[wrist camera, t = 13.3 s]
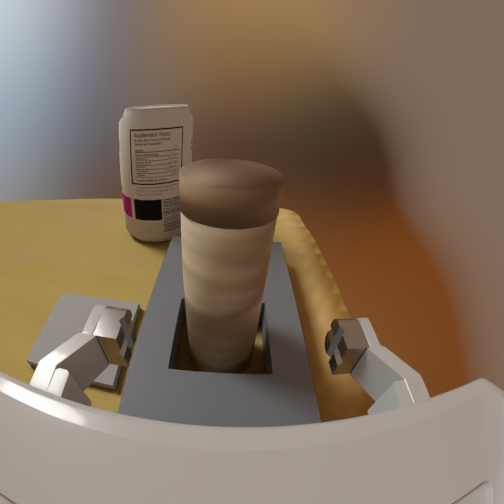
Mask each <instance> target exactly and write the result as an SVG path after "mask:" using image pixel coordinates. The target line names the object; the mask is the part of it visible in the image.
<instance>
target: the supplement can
mask: <svg viewBox="0 0 504 504" xmlns="http://www.w3.org/2000/svg"><path fill="white" fill-rule="evenodd" d="M192 134H193V117H192V115H191V113H190V111H189V109H188V105H177V104H174V105H173V104H172V105H149V106H138V107H131V108H126V109H125V112H124V114H123V116H122V118H121V120H120V122H119V151H120V169H121V183H122V194H123V204H124V213H125V221H126V228H127V230H128V232H129V233H130V234H132V235H133V236H134V237H136V238H137V239H139V240H142V241H146V242H163V241H169V240H172V237H173V236H180V235H181V211H180V207H179V171H180V169H181V168H182V167H183V166H185V165H187V164H189V163H191V160H192Z"/></svg>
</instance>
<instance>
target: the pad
mask: <svg viewBox="0 0 504 504" xmlns="http://www.w3.org/2000/svg"><path fill="white" fill-rule="evenodd" d="M97 304H98V305H104V306H111V307H118V308H124V309H129V310H131V313H132V318H131V321H133V322H134V323H135V322H136V319H137V316H138V313H139V310H140V305H139V303H135V302H126V301H118V300H110V299H102V298H95V297H88V296H81V295H74V294H68V293H63V294H62V296H61V297H60V299H59V301H58V302H57V304H56V306H55V307H54V309H53V311H52V312H51V314H50V316H49V318H48V320H47V321H46V323H45V325H44V327H43V329H42V330H41V332H40V334H39V336H38V338H37V340H36V342H35V344H34V346H33V348H32V350H31V352H30V354H29V356H28V358H27V362H28V363H29V364H30V365H32V366H34V367H37V366H38V364H39V361H40V360H41V359H43V358H44V357H45V356H47V355H48V354H49V353H51V352H52V351H54V350H55V349H56V348H58V347H59V346H60V345H62V344H63V343H65V342H66V341H67V340H69V339H70V338H72V337H73V336H74V335H76V334H77V333H82V331H83V328H84V326H85V324H86V322H87V320H88V318H89V316H90V314H91V312H92V310H93V308H94V306H95V305H97ZM121 367H122V366H120V365H113V364H109V366H108V367H107V368H106V369H105V370H104V371H103V372H102V373H101V374H100V375H99V376H98V377H97V378H96V379H95V380H94V381H93V382H92V383H91V384H93V385H97V386H101V387H105V388H110V389H114V390H115V389H116V385H117V382H118V378H119V374H120V371H121Z"/></svg>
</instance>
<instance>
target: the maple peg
mask: <svg viewBox="0 0 504 504" xmlns="http://www.w3.org/2000/svg"><path fill="white" fill-rule="evenodd" d="M283 183H284V177H283V175H282V174H281V173H280V172H278V171H277V170H275V169H273V168H271V167H269V166H266V165H263V164H259V163H255V162H250V161H244V160H236V159H235V160H234V159H208V160H201V161H196V162H192V163H189V164H187V165H185V166H183V167H182V168H181V169H180V171H179V207H180V211H181V244H182V265H183V282H184V296H185V308H186V320H187V330H188V339H189V348H190V357H191V362H192V364H193V366H194V367H195V369H196V370H197V371H198V372H212V373H232V374H243V373H244V372H245V371H246V370H247V369H248V367H249V366H250V363H251V359H252V354H253V348H254V343H255V338H256V333H257V327H258V322H259V316H260V311H261V305H262V300H263V294H264V289H265V283H266V278H267V272H268V266H269V260H270V255H271V249H272V243H273V237H274V231H275V225H276V219H277V216H278V213H279V207H280V201H281V195H282V189H283Z"/></svg>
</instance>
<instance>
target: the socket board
mask: <svg viewBox="0 0 504 504" xmlns="http://www.w3.org/2000/svg"><path fill="white" fill-rule="evenodd" d="M184 320H186V308H185V296H184V282H183V265H182V244H181V236H173V237H172V240H171V242H170V245H169V247H168V250H167V253H166V255H165V258H164V261H163V263H162V266H161V269H160V271H159V274H158V277H157V280H156V283H155V285H154V288H153V291H152V294H151V297H150V300H149V303H148V306H147V309H146V312H145V315H144V318H143V322H142V325H141V328H140V331H139V335H138V338H137V341H136V345H135V348H134V352H133V355H132V359H131V362H130V366H129V370H128V374H127V377H126V381H125V385H124V389H123V394H122V398H121V402H120V406H119V411H118V413H120V414H124V415H129V416H134V417H139V418H145V419H151V420H158V421H164V422H172V423H181V424H191V425H203V426H220V427H273V426H290V425H302V424H312V423H321V418H320V413H319V407H318V402H317V397H316V392H315V387H314V383H313V378H312V373H311V368H310V364H309V359H308V354H307V350H306V345H305V341H304V336H303V332H302V327H301V323H300V318H299V314H298V310H297V306H296V301H295V297H294V293H293V289H292V285H291V280H290V276H289V272H288V268H287V264H286V260H285V256H284V252H283V248H282V244H281V242H273V243H272V249H271V255H270V260H269V266H268V272H267V278H266V283H265V289H264V294H263V300H262V305H261V311H260V316H259V322H258V324H261V330H262V341H263V352H264V363H265V374H232V373H212V372H198V371H186V370H176V363H177V357H178V351H179V345H180V339H181V333H182V327H183V322H184Z"/></svg>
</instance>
